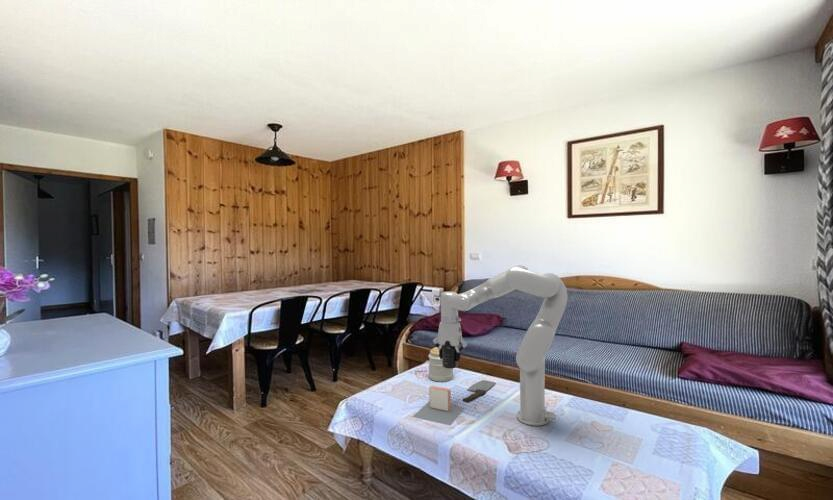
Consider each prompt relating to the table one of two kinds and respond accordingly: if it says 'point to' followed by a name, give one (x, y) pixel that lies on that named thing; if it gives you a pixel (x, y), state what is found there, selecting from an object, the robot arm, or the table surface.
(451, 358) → the supplement bottle
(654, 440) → the table surface
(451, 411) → the slate mat
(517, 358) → the robot arm
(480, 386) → the cleaver
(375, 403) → the table surface
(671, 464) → the table surface
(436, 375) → the jar
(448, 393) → the tile
